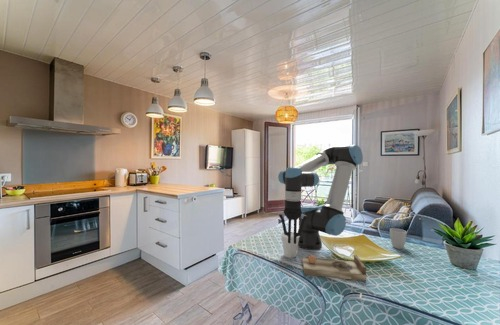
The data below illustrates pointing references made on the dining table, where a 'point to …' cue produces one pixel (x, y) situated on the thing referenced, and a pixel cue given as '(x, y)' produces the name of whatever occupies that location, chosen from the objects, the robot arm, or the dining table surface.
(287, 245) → the cup
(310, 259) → the ball
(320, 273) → the board
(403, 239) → the cup
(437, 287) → the dining table surface
